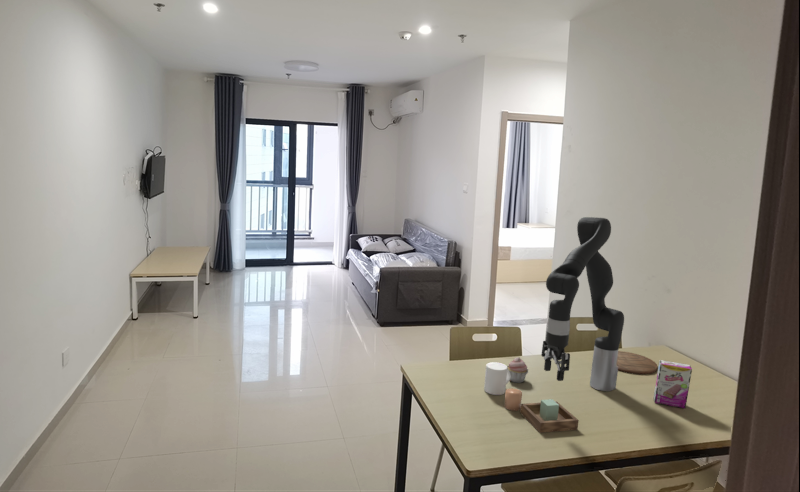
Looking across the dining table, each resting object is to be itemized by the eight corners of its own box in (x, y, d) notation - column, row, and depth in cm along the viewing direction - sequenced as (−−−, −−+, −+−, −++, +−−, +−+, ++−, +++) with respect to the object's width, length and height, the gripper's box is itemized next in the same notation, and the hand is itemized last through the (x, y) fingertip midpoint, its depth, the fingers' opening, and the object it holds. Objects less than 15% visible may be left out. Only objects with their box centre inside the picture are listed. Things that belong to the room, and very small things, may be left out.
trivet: (666, 376, 241) (667, 372, 241) (610, 373, 241) (610, 369, 241) (642, 356, 266) (643, 352, 266) (591, 353, 266) (592, 349, 266)
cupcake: (523, 386, 221) (525, 363, 219) (501, 380, 226) (503, 357, 224) (530, 379, 229) (533, 356, 227) (509, 373, 234) (511, 351, 232)
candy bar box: (654, 403, 212) (660, 363, 209) (653, 398, 217) (658, 359, 214) (686, 409, 209) (692, 368, 206) (684, 404, 213) (690, 364, 210)
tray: (555, 410, 201) (556, 401, 201) (577, 429, 188) (578, 420, 187) (520, 412, 198) (521, 403, 197) (539, 432, 184) (540, 423, 183)
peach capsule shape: (517, 403, 206) (518, 388, 205) (523, 410, 200) (524, 395, 199) (501, 403, 205) (503, 388, 204) (507, 410, 199) (509, 395, 198)
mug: (481, 364, 215) (502, 358, 222) (479, 389, 216) (500, 382, 224) (497, 371, 208) (518, 365, 215) (495, 397, 210) (516, 390, 217)
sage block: (550, 414, 195) (552, 399, 194) (557, 421, 191) (559, 404, 190) (539, 415, 194) (541, 399, 193) (545, 421, 190) (547, 405, 189)
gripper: (579, 337, 181) (574, 383, 184) (556, 323, 195) (552, 366, 198) (559, 338, 179) (554, 384, 182) (537, 324, 193) (533, 368, 196)
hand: (553, 375), depth 190 cm, fingers open, 8 cm apart
